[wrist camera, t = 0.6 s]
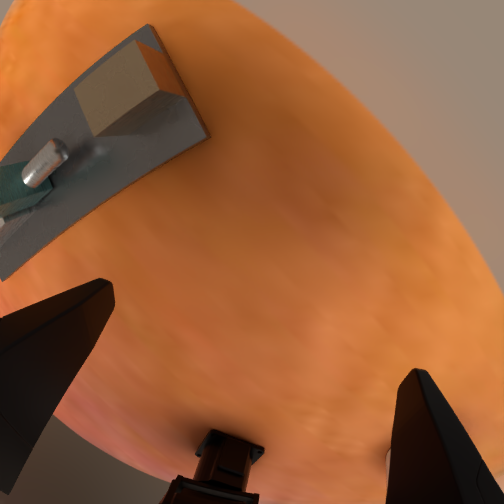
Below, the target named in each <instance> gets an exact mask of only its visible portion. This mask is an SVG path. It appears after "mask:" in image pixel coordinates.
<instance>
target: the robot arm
mask: <svg viewBox="0 0 504 504" xmlns="http://www.w3.org/2000/svg"><path fill="white" fill-rule="evenodd" d="M114 307H115V297H114V290H113V284H112V282H110V281H108V280H105V279H103V278H98V279H95V280H92V281H90V282H87V283H85V284H82V285H80V286H77V287H75V288H72V289H70V290H67V291H65V292H62V293H60V294H57V295H55V296H52V297H50V298H47V299H45V300H42V301H40V302H37V303H35V304H32V305H30V306H27V307H25V308H23V309H20V310H18V311H15V312H13V313H11V314H8V315H6V316H3V317H2V318H0V491H2V492H4V493H5V494H7V495H9V494H10V492H11V490H12V488H13V486H14V484H15V482H16V480H17V478H18V476H19V474H20V472H21V470H22V468H23V466H24V464H25V463H26V461H27V459H28V457H29V455H30V453H31V451H32V450H33V447H34V446H35V443H36V442H37V440H38V438H39V437H40V435H41V433H42V431H43V429H44V427H45V426H46V424H47V422H48V421H49V419H50V417H51V416H52V414H53V412H54V411H55V409H56V407H57V405H58V404H59V402H60V400H61V399H62V397H63V396H64V394H65V392H66V391H67V389H68V387H69V386H70V384H71V383H72V381H73V379H74V378H75V376H76V375H77V373H78V371H79V370H80V368H81V367H82V365H83V364H84V362H85V360H86V359H87V357H88V356H89V354H90V353H91V351H92V349H93V348H94V346H95V344H96V342H97V340H98V338H99V336H100V335H101V333H102V331H103V329H104V327H105V325H106V323H107V321H108V319H109V317H110V315H111V314H112V312H113V310H114ZM264 451H265V450H264V448H261V447H258V446H256V445H253V444H250V443H247V442H244V441H241V440H239V439H236V438H233V437H231V436H228V435H226V434H223V433H221V432H218V431H216V430H210V431H209V433H208V434H207V436H206V437H205V439H204V440H203V442H202V443H201V445H200V446H199V448H198V449H197V451H196V453H195V455H196V456H197V457H200V460H199V463H198V466H197V469H196V472H195V475H194V477H193V480H192V479H189V478H185V477H183V476H181V475H178V476H177V478H176V479H175V480H172V482H171V485H170V487H169V489H168V491H167V493H166V494H165V496H164V497H163V498H162V500H161V501H160V503H159V504H258V502H259V494H257V493H254V494H252V493H247V492H246V487H247V482H248V478H249V473H250V469H251V466H252V465H253V464H254V463H255V462H256V461H257V460H258V459H259V458H260V457H261V456H262V455H263V454H264ZM386 504H504V493H503V492H502V490H501V489H500V487H499V485H498V484H497V482H496V481H495V479H494V477H493V476H492V474H491V472H490V471H489V469H488V467H487V465H486V464H485V462H484V460H483V459H482V457H481V455H480V453H479V452H478V450H477V448H476V447H475V445H474V443H473V442H472V440H471V438H470V437H469V435H468V433H467V432H466V430H465V429H464V427H463V425H462V424H461V422H460V421H459V419H458V417H457V416H456V414H455V413H454V411H453V410H452V408H451V406H450V405H449V403H448V402H447V400H446V399H445V397H444V396H443V394H442V393H441V391H440V390H439V388H438V387H437V385H436V384H435V382H434V381H433V379H432V378H431V376H430V375H429V373H428V372H427V371H426V370H423V369H418V368H414V369H412V370H411V371H410V373H409V374H408V375H407V376H406V378H405V379H404V380H403V381H402V383H401V384H400V386H399V388H398V392H397V400H396V408H395V416H394V422H393V429H392V438H391V452H390V466H389V477H388V487H387V496H386Z"/></svg>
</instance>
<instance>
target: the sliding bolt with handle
mask: <svg viewBox="0 0 504 504" xmlns="http://www.w3.org/2000/svg"><path fill="white" fill-rule="evenodd" d="M68 156H69V151H68V148H67V146H66V144H65V143H64V142H63V141H62V140H61V139H58V138H52V139H51V140H50V141H49V142H48V143H47V144H46V145H45V146H44V147H43V148H42V149H41V150H40V151H39V152H38V153H37V154H36V155H35V157H34V158H33V159H32V160H29V161H24V162H19V163H15V164H10V165H6V166H1V167H0V218H2V217H5V216H7V215H10V214H12V213H15V212H18V211H20V210H23V209H26V208H28V207H31V206H34V205H36V204H37V203H38V202H39V201H40V200H41V199H42V198H43V197H44V196H45V195H46V194H47V193H49V192H50V191H51V190H52V189H53V187H52V185H51V183H50V180H49V178H48V176H49V175H50V174H51V173H52V172H53V171H54V170H55V169H56V168H57V167H59V166H60V165H61V164H62V163H63V162H64V161H65V160H66V159H67V158H68Z"/></svg>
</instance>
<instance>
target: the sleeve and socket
mask: <svg viewBox="0 0 504 504" xmlns="http://www.w3.org/2000/svg"><path fill="white" fill-rule="evenodd" d="M210 137H211V136H210V134H209V132H208V130H207V128H206V126H205V124H204V122H203V120H202V119H201V117H200V115H199V113H198V111H197V109H196V107H195V105H194V103H193V101H192V99H191V97H190V95H189V93H188V91H187V90H186V88H185V86H184V84H183V82H182V80H181V78H180V76H179V74H178V72H177V70H176V69H175V67H174V65H173V63H172V61H171V59H170V57H169V55H168V53H167V51H166V50H165V48H164V46H163V44H162V42H161V40H160V38H159V36H158V35H157V33H156V31H155V29H154V27H152V26H151V25H149V24H146V25H145V26H143V27H142V28H140V29H139V30H137V31H136V32H135V33H133V34H132V35H130V36H129V37H128V38H126V39H125V40H124V41H122V42H121V43H120V44H118V45H117V46H116V47H114V48H113V49H112V50H110V51H109V52H108V53H107V54H105V55H104V56H103V57H102V58H100V59H99V60H98V61H97V62H96V63H94V64H93V65H92V66H91V67H90V68H89V69H87V70H86V71H85V72H84V73H83V74H82V75H81V76H79V77H78V78H77V79H76V80H75V81H74V82H73V83H72V84H71V85H70V86H69V87H67V88H66V89H65V90H64V91H63V92H62V93H61V94H60V95H59V96H58V97H57V98H56V99H55V100H54V101H53V102H52V103H51V104H50V105H49V106H48V107H47V108H46V109H45V110H44V111H43V112H42V114H41V115H40V116H39V117H38V118H37V119H36V120H35V121H34V122H33V123H32V124H31V126H30V127H29V128H28V129H27V130H26V131H25V132H24V134H23V135H22V136H21V137H20V138H19V139H18V141H17V142H16V143H15V144H14V146H13V147H12V148H11V149H10V150H9V152H8V153H7V154H6V156H5V157H4V158H3V159H2V161H1V162H0V167H1V166H6V165H10V164H15V163H19V162H24V161H29V160H32V159H33V158H34V157H35V155H36V154H37V153H38V152H39V151H40V150H41V149H42V148H43V147H44V146H45V145H46V144H47V143H48V142H49V141H50V140H51V139H52V138H58V139H61V140H62V141H63V142H64V143H65V144H66V146H67V148H68V151H69V156H68V158H67V159H66V160H65V161H64V162H63V163H62V164H61V165H60V166H59V167H57V168H56V169H55V170H54V171H53V172H52V173H51V174H50V175H49V176H48V178H49V180H50V183H51V185H52V187H53V189H52V190H51V191H50V192H49V193H47V194H46V195H45V196H44V197H43V198H42V199H41V200H40V201H39V202H38V203H37V204H36V205H34V206H31V207H28V208H26V209H23V210H20V211H18V212H15V213H12V214H10V215H7V216H5V217H2V218H0V279H1V281H2V282H3V281H5V280H6V279H8V278H9V277H10V276H11V275H12V274H14V273H15V272H16V271H17V270H18V269H19V268H20V267H22V266H23V265H24V264H25V263H26V262H28V261H29V260H30V259H31V258H32V257H34V256H35V255H36V254H37V253H38V252H40V251H41V250H42V249H43V248H45V247H46V246H47V245H48V244H50V243H51V242H52V241H53V240H55V239H56V238H57V237H58V236H60V235H61V234H62V233H64V232H65V231H66V230H68V229H69V228H70V227H72V226H73V225H74V224H76V223H77V222H78V221H80V220H81V219H82V218H84V217H85V216H87V215H88V214H89V213H91V212H92V211H93V210H95V209H96V208H98V207H99V206H101V205H102V204H103V203H105V202H106V201H108V200H109V199H111V198H112V197H114V196H115V195H117V194H118V193H120V192H121V191H123V190H124V189H126V188H127V187H129V186H130V185H132V184H133V183H135V182H136V181H138V180H139V179H141V178H143V177H144V176H146V175H147V174H149V173H150V172H152V171H154V170H155V169H157V168H159V167H160V166H162V165H163V164H165V163H167V162H168V161H170V160H172V159H173V158H175V157H177V156H179V155H180V154H182V153H184V152H185V151H187V150H189V149H191V148H192V147H194V146H196V145H198V144H200V143H201V142H203V141H205V140H207V139H209V138H210Z"/></svg>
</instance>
